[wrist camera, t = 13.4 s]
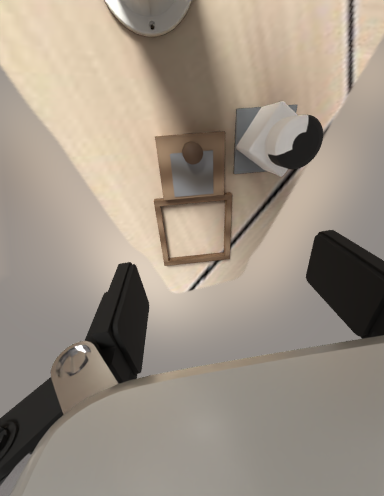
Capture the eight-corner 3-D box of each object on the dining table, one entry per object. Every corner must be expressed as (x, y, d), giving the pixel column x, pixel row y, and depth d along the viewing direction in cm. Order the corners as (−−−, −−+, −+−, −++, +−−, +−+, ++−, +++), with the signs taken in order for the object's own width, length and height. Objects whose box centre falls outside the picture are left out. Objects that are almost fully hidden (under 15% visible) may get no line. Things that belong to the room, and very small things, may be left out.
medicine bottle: (291, 132, 34) (343, 133, 24) (263, 170, 37) (299, 185, 26) (261, 105, 32) (305, 92, 21) (234, 147, 34) (261, 154, 24)
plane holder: (144, 137, 33) (139, 138, 28) (232, 130, 33) (243, 130, 28) (164, 262, 46) (164, 278, 41) (227, 255, 47) (234, 270, 41)
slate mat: (236, 108, 32) (237, 108, 31) (295, 104, 32) (297, 104, 32) (233, 173, 37) (234, 174, 37) (284, 169, 37) (286, 169, 37)
